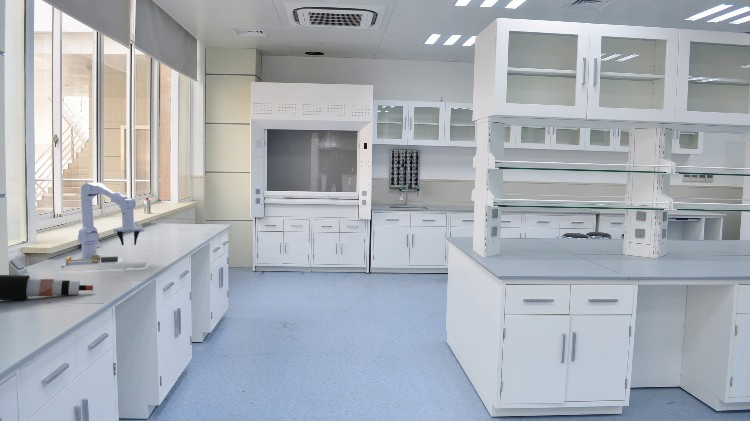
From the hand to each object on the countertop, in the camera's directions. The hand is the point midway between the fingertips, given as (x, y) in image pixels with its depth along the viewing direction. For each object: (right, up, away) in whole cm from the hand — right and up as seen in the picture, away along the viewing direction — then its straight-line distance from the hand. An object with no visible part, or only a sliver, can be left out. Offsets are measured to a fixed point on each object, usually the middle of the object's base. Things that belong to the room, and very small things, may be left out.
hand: (128, 244), depth 290 cm
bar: (-10, -9, -2) cm, 13 cm away
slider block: (-16, -9, -4) cm, 19 cm away
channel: (-17, -10, -5) cm, 21 cm away
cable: (0, -18, -72) cm, 74 cm away
